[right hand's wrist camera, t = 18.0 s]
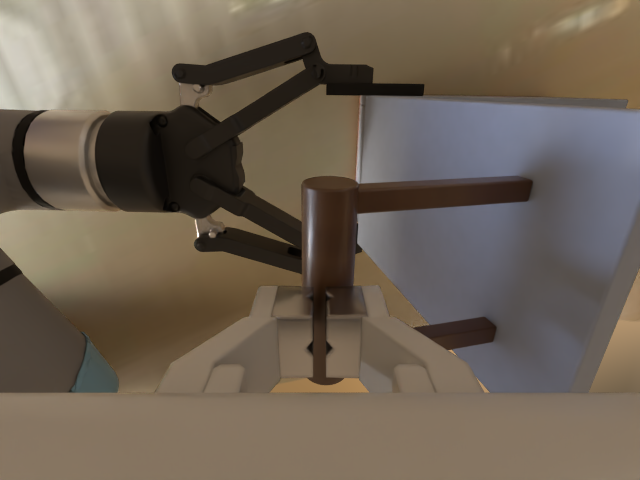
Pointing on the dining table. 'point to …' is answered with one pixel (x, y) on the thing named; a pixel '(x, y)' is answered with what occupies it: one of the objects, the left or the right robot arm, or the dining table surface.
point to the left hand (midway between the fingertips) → (410, 167)
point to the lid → (489, 231)
